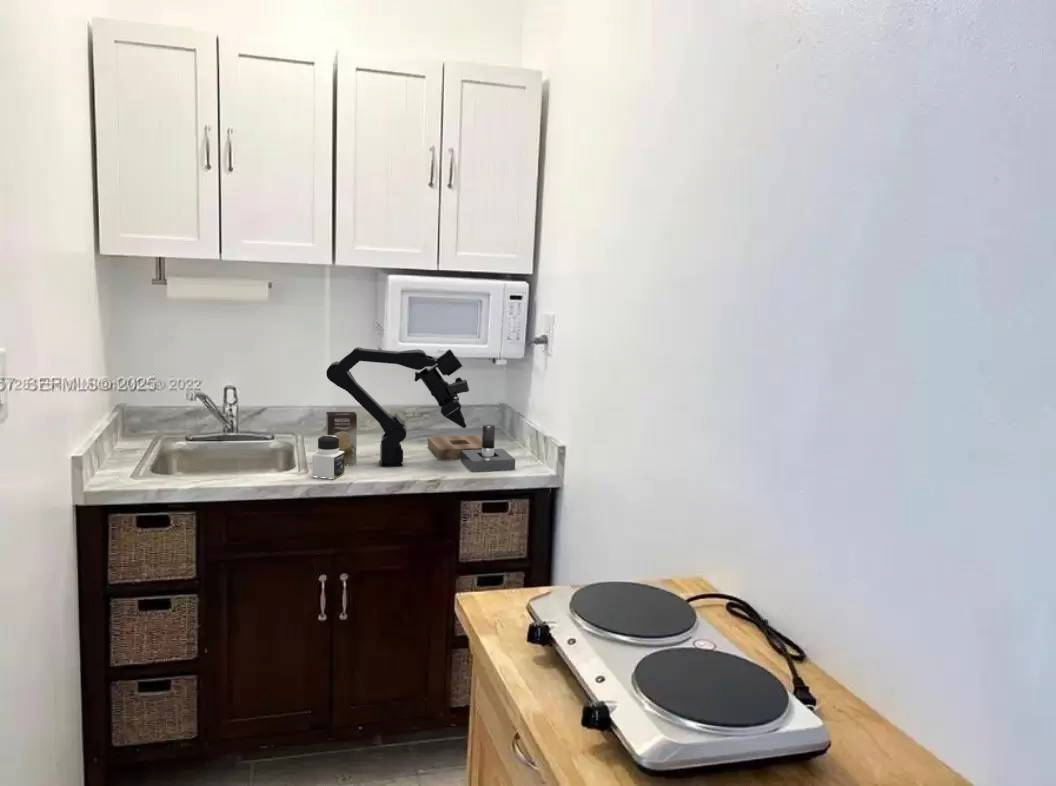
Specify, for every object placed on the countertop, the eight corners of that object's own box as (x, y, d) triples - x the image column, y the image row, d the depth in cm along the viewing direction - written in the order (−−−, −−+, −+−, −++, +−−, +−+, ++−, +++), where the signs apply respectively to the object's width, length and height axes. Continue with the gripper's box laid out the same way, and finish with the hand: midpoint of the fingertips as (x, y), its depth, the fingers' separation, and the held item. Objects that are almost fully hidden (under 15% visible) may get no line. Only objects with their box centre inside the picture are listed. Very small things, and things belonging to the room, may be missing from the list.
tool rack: (438, 460, 260) (439, 449, 259) (427, 447, 277) (427, 437, 276) (491, 457, 266) (492, 447, 265) (477, 445, 282) (478, 435, 282)
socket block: (472, 472, 247) (472, 461, 247) (461, 460, 260) (461, 450, 260) (514, 469, 252) (515, 459, 251) (502, 458, 265) (502, 448, 264)
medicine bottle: (334, 480, 233) (334, 440, 231) (312, 478, 235) (311, 438, 232) (344, 473, 240) (344, 435, 238) (322, 471, 241) (322, 433, 239)
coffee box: (326, 466, 248) (326, 415, 245) (325, 461, 253) (325, 411, 251) (356, 465, 250) (357, 415, 248) (354, 459, 256) (354, 411, 254)
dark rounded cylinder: (483, 467, 254) (484, 427, 251) (479, 464, 257) (481, 424, 255) (495, 466, 255) (496, 426, 253) (491, 463, 259) (493, 424, 256)
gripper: (458, 374, 241) (487, 415, 245) (455, 365, 260) (482, 404, 263) (428, 395, 241) (457, 436, 245) (427, 385, 260) (455, 423, 263)
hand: (464, 424), depth 254 cm, fingers open, 9 cm apart
